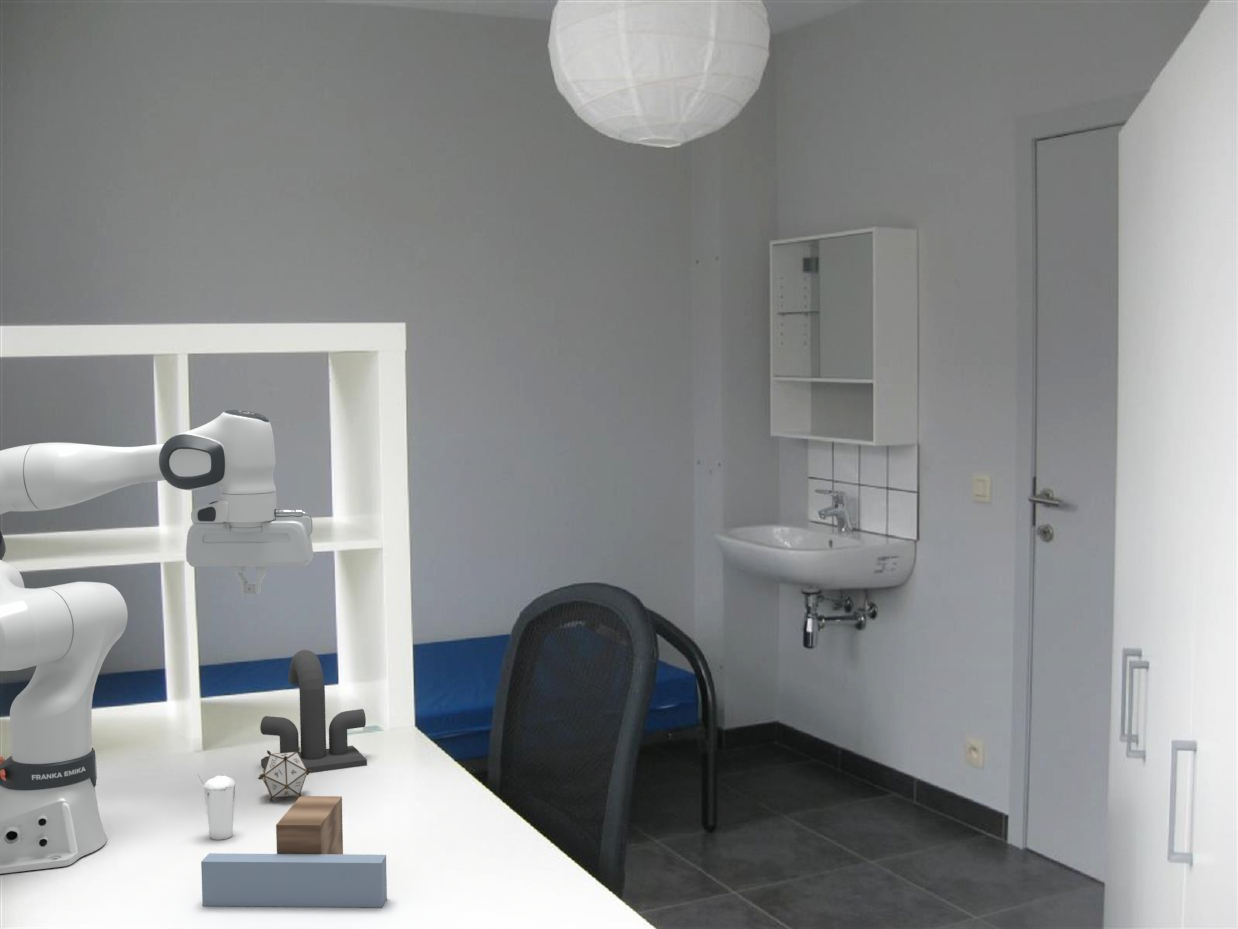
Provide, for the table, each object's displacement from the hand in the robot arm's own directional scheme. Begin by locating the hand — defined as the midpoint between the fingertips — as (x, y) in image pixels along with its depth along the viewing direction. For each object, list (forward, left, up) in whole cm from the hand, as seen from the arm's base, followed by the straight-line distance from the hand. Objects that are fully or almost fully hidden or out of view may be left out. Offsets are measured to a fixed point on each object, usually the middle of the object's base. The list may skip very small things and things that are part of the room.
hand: (251, 593), depth 221 cm
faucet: (+14, +16, -34) cm, 40 cm away
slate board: (-7, -47, -34) cm, 58 cm away
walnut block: (-3, -40, -34) cm, 53 cm away
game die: (+4, -3, -34) cm, 35 cm away
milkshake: (-10, -16, -34) cm, 39 cm away
